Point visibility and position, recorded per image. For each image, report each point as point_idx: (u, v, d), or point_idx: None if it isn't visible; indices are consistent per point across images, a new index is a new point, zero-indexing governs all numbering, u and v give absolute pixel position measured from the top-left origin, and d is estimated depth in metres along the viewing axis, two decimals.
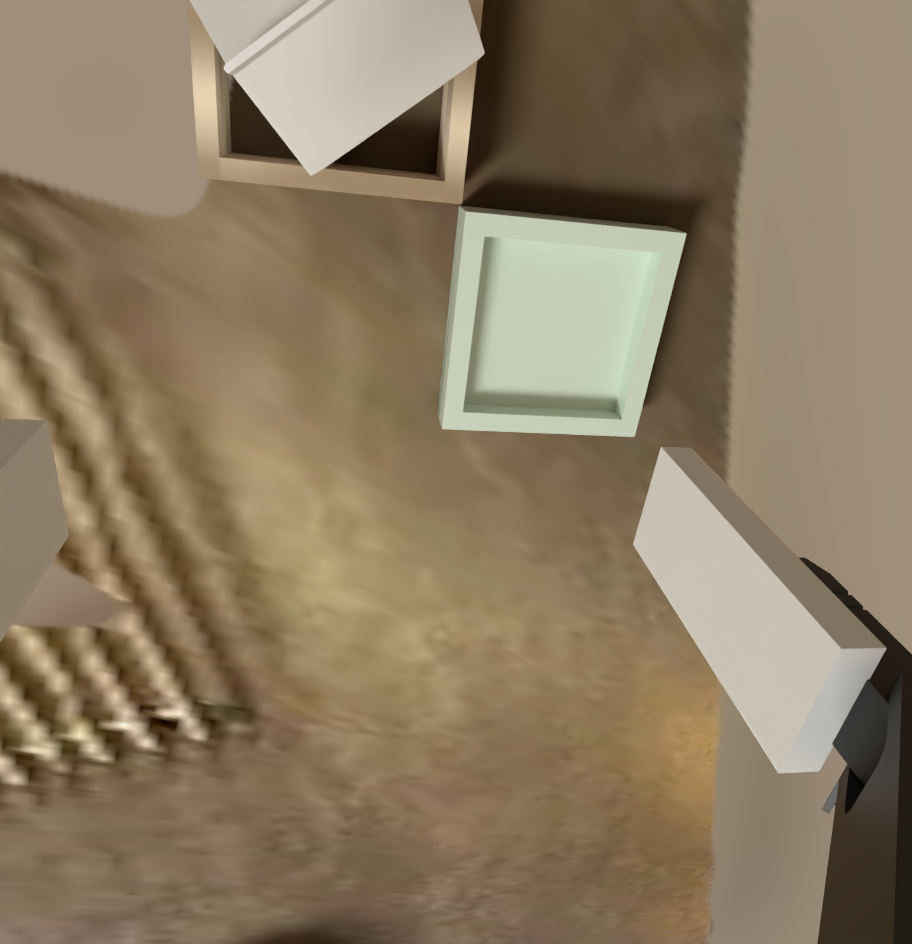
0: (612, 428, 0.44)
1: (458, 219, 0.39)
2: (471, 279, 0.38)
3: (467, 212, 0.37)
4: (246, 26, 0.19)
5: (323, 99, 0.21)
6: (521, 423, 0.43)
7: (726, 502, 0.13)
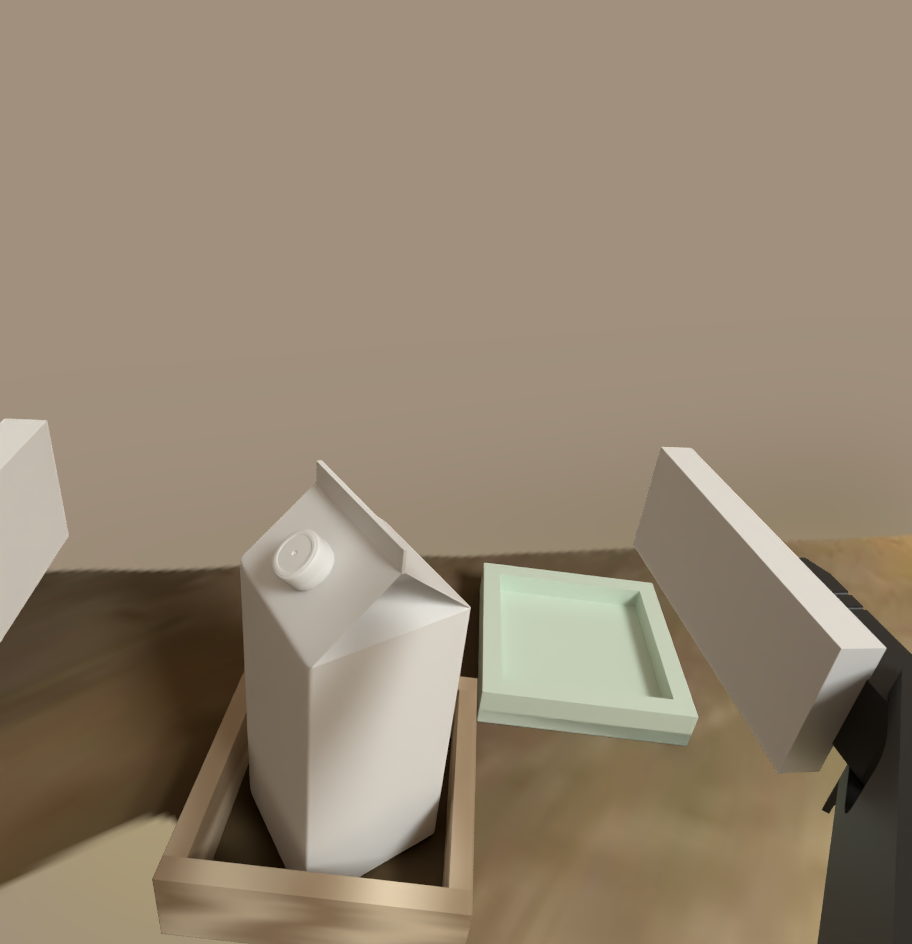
0: (649, 596, 0.50)
1: (489, 719, 0.41)
2: (541, 689, 0.41)
3: (483, 690, 0.40)
4: (370, 573, 0.24)
5: (417, 566, 0.27)
6: (668, 655, 0.45)
7: (726, 502, 0.13)
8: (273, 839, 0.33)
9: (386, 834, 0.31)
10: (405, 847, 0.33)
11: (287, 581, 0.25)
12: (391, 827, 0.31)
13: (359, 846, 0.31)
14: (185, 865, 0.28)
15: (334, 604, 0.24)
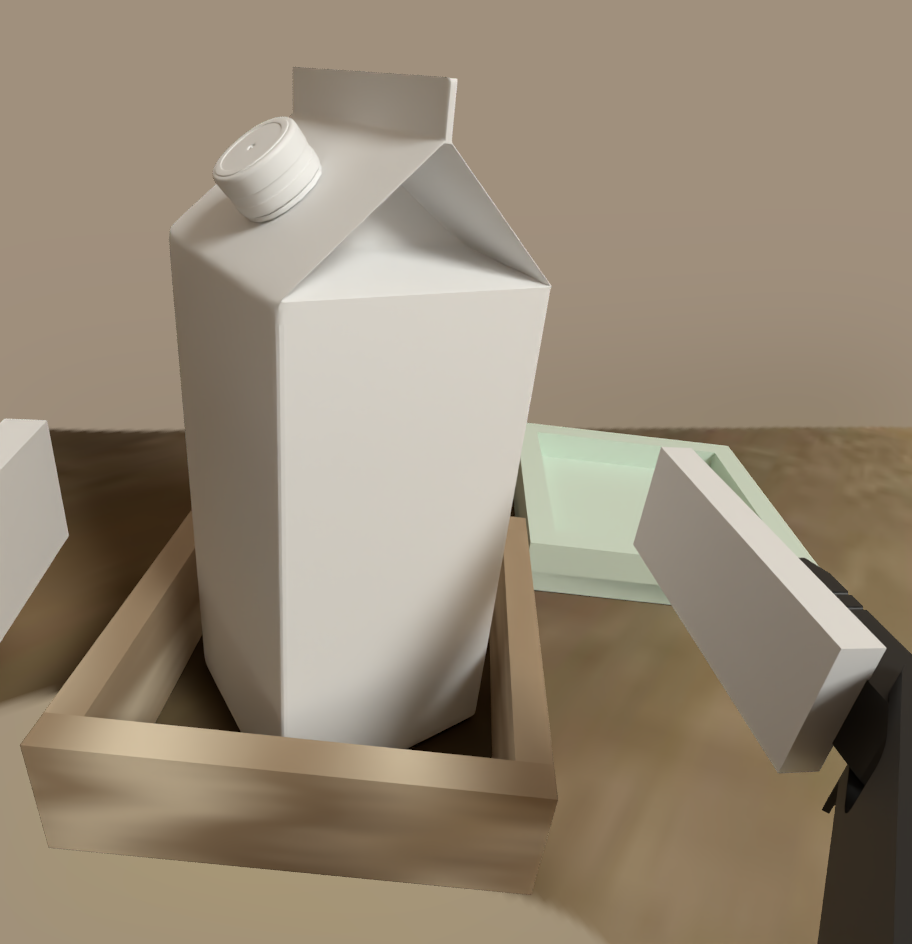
0: (728, 457, 0.39)
1: (538, 585, 0.30)
2: (609, 541, 0.30)
3: (531, 541, 0.29)
4: (387, 161, 0.14)
5: None
6: (767, 512, 0.34)
7: (726, 502, 0.13)
8: (236, 719, 0.22)
9: (407, 701, 0.21)
10: (434, 730, 0.22)
11: (238, 185, 0.14)
12: (415, 690, 0.20)
13: (366, 714, 0.20)
14: (79, 726, 0.17)
15: (322, 216, 0.14)
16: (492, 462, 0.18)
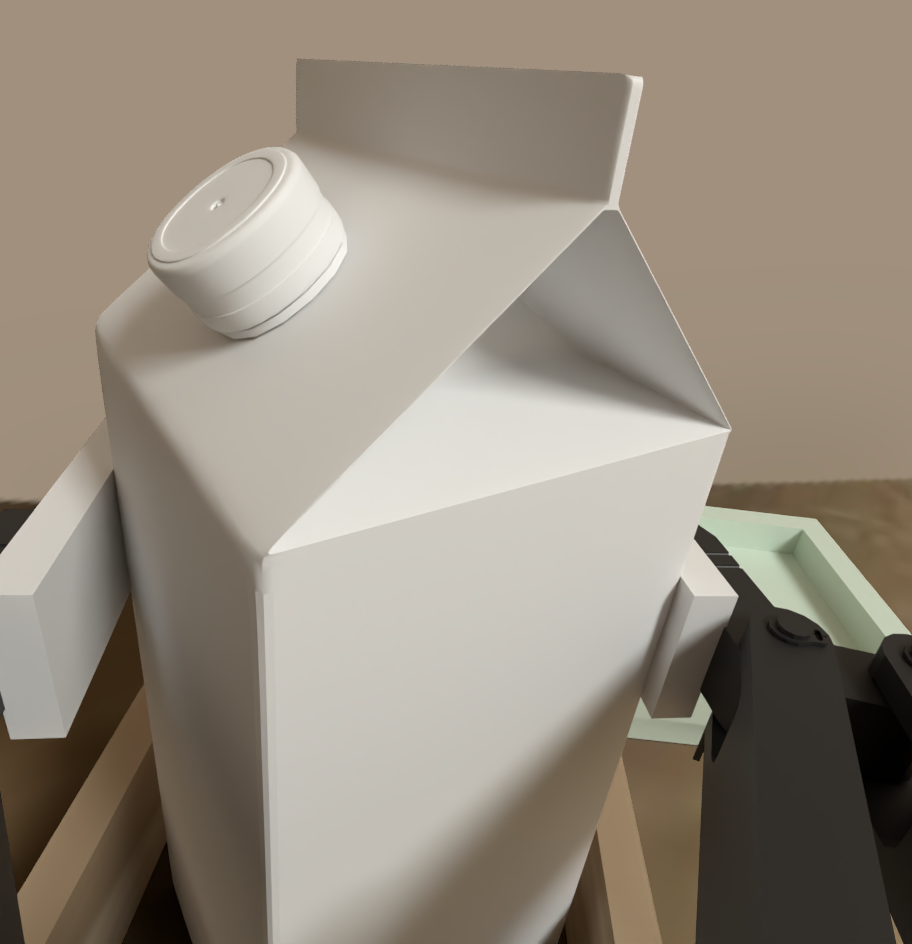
0: (820, 536, 0.33)
1: None
2: None
3: None
4: (480, 239, 0.07)
5: None
6: (886, 621, 0.27)
7: None
8: None
9: None
10: None
11: (189, 281, 0.07)
12: None
13: None
14: None
15: (351, 349, 0.07)
16: (611, 689, 0.11)
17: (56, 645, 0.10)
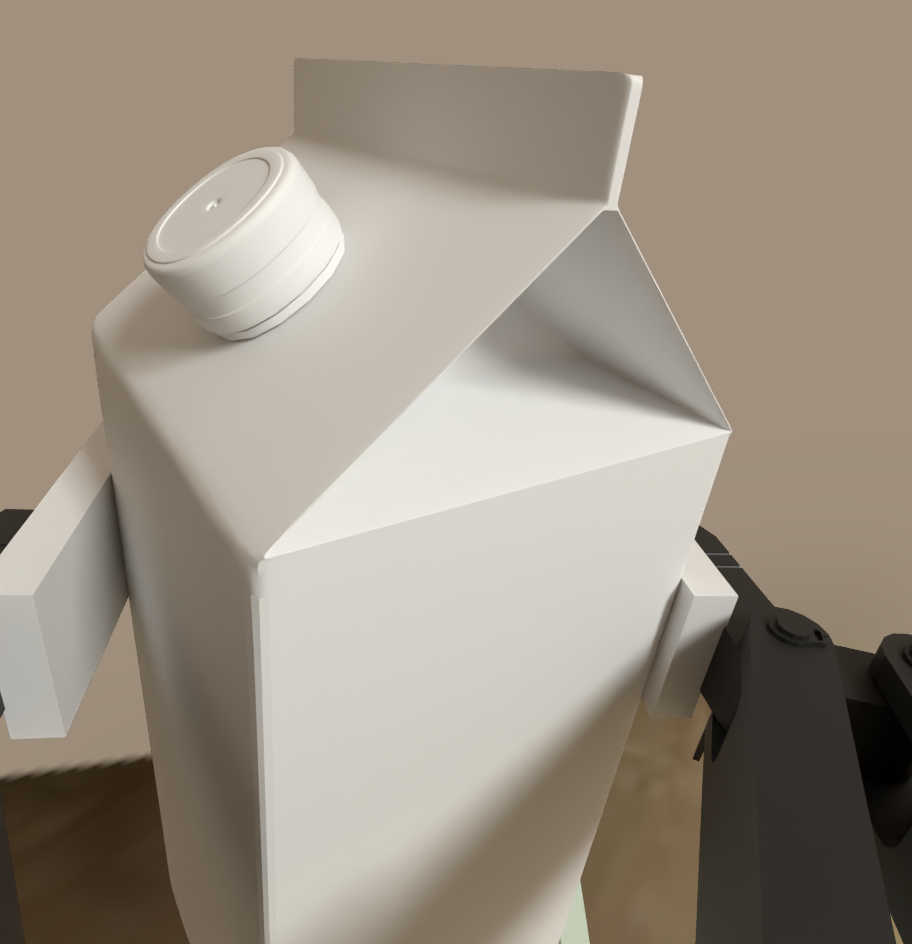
0: None
1: None
2: None
3: None
4: (478, 240, 0.07)
5: None
6: None
7: None
8: None
9: None
10: None
11: (184, 282, 0.07)
12: None
13: None
14: None
15: (348, 350, 0.07)
16: (611, 692, 0.11)
17: (56, 645, 0.10)
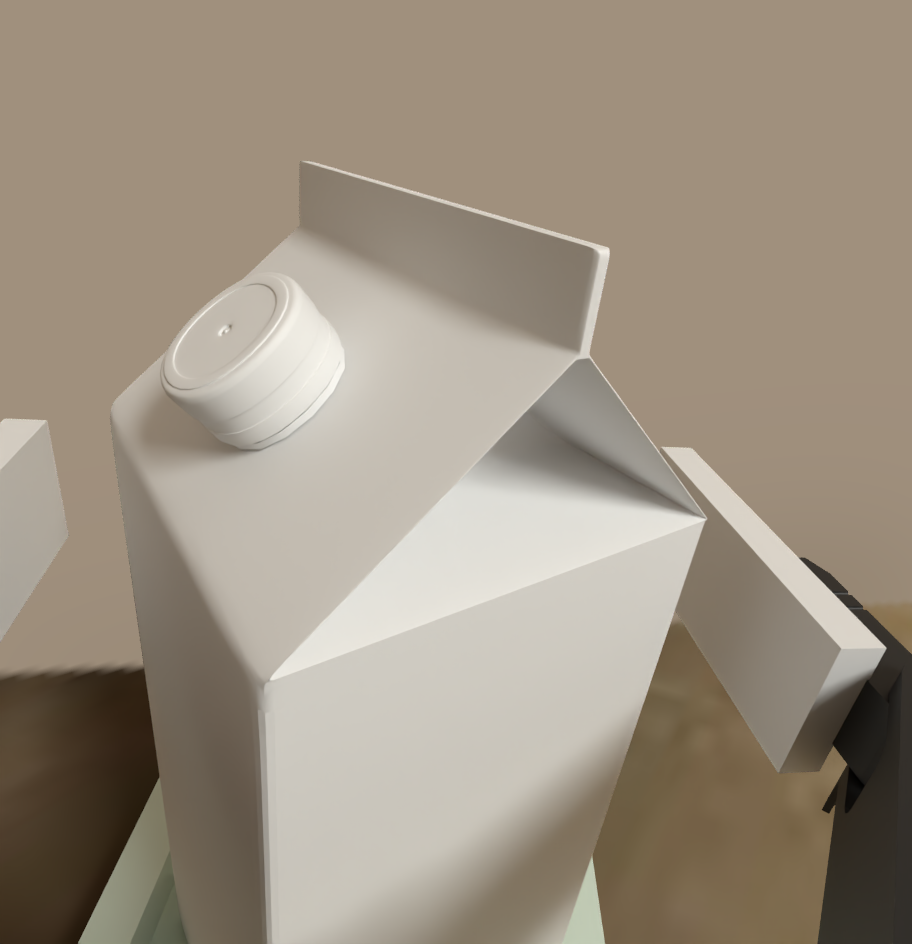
0: None
1: None
2: None
3: None
4: (465, 374, 0.08)
5: None
6: None
7: (726, 502, 0.13)
8: None
9: None
10: None
11: (198, 407, 0.08)
12: None
13: None
14: None
15: (347, 475, 0.08)
16: (596, 753, 0.12)
17: None
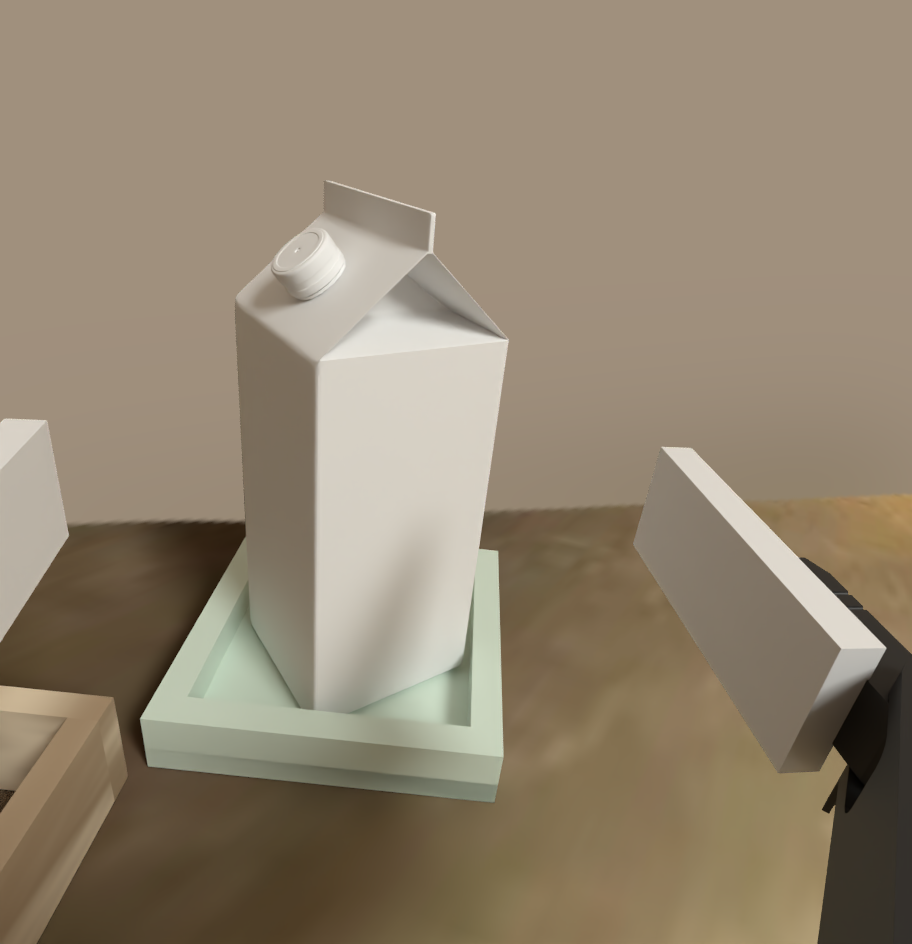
0: (487, 568, 0.34)
1: (166, 763, 0.25)
2: (247, 713, 0.25)
3: (142, 717, 0.24)
4: (390, 263, 0.20)
5: None
6: (486, 654, 0.29)
7: (726, 502, 0.13)
8: (276, 664, 0.28)
9: (408, 648, 0.27)
10: (429, 674, 0.29)
11: (289, 278, 0.20)
12: (413, 640, 0.27)
13: (376, 656, 0.26)
14: None
15: (346, 300, 0.20)
16: (469, 466, 0.24)
17: None
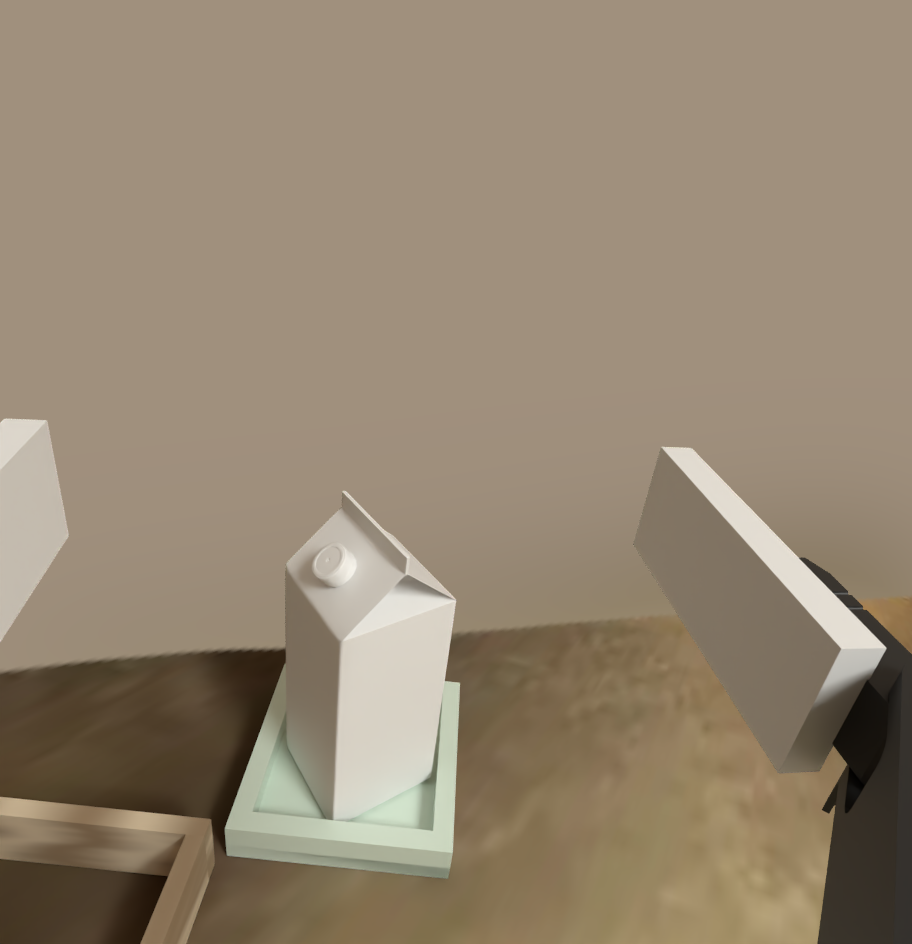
0: (451, 699, 0.48)
1: (239, 854, 0.39)
2: (291, 823, 0.39)
3: (226, 827, 0.38)
4: (383, 575, 0.34)
5: (416, 569, 0.37)
6: (446, 774, 0.43)
7: (726, 502, 0.13)
8: (306, 780, 0.43)
9: (393, 774, 0.41)
10: (408, 787, 0.43)
11: (323, 580, 0.35)
12: (397, 769, 0.41)
13: (373, 782, 0.40)
14: None
15: (357, 597, 0.34)
16: (432, 669, 0.39)
17: None
